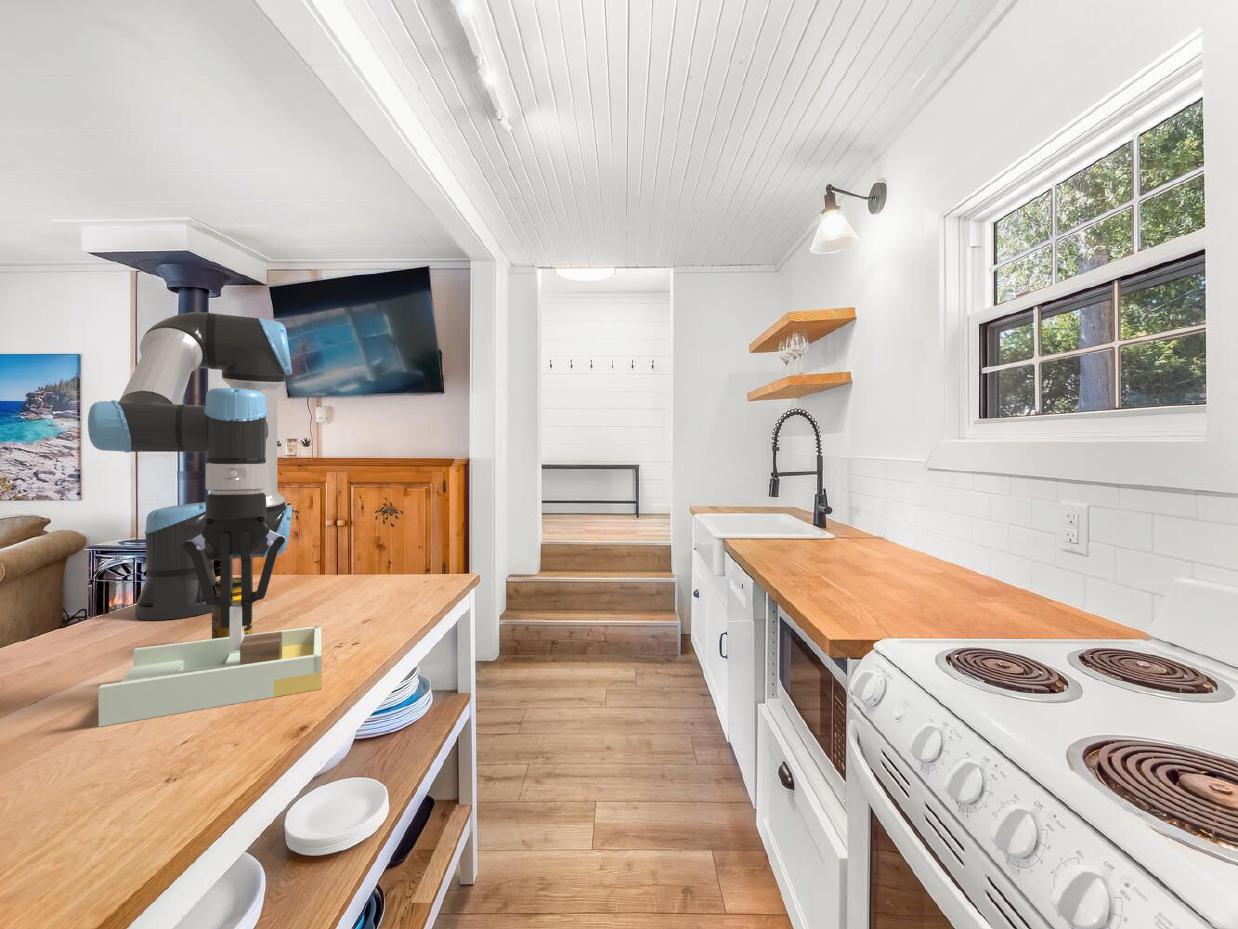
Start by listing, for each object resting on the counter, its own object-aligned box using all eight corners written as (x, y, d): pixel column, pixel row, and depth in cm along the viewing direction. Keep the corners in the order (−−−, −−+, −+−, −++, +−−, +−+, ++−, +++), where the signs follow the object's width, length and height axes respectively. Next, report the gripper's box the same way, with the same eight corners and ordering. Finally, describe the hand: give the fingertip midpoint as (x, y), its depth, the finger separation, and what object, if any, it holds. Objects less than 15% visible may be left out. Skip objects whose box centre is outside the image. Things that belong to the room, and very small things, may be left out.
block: (244, 661, 86) (244, 635, 86) (282, 656, 89) (282, 631, 89) (240, 672, 82) (239, 645, 82) (279, 667, 84) (279, 640, 84)
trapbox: (135, 680, 85) (135, 648, 85) (321, 654, 97) (321, 625, 97) (98, 726, 71) (98, 688, 71) (321, 689, 83) (321, 655, 82)
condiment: (254, 648, 99) (254, 581, 99) (195, 657, 95) (195, 587, 94) (254, 636, 105) (254, 574, 105) (198, 645, 101) (198, 579, 101)
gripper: (176, 494, 77) (176, 663, 78) (285, 492, 83) (285, 649, 84) (188, 491, 84) (188, 646, 84) (288, 489, 90) (288, 634, 90)
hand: (236, 647), depth 84 cm, fingers closed
